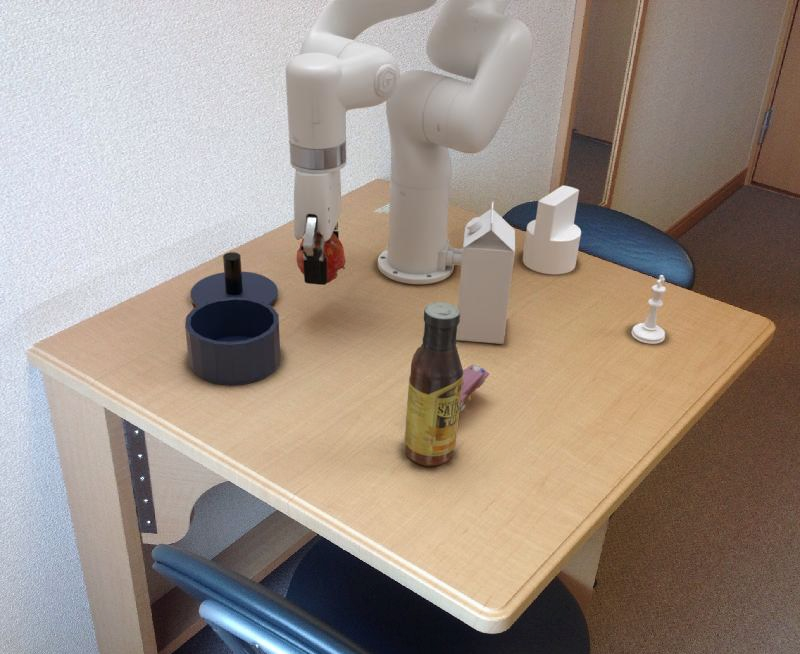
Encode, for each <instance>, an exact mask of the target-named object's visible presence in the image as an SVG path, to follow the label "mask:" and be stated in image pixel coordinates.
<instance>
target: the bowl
mask: <svg viewBox="0 0 800 654" xmlns="http://www.w3.org/2000/svg"><path fill="white" fill-rule="evenodd" d="M184 328H185V329H184V330H185V337H186V347H187V356H188V363H189V366H190V369H191V371H192V372H193V374H195V376H197V377H198V378H200V379H201V380H203V381H206V382H208V383H211V384H215V385H220V386H241V385H242V386H243V385H248V384H253V383H255V382H259V381H261V380H264V379H266V378H268V377H269V376H271V375H272V374H273V373H274V372H275V371H276V370H277V369H278V367H279V366H280V363H281V341H280V339H281V337H280V314H278V311H277V310H276V309H275V308H274V307H273V306H272V305H268V304H266V303H265V302H262V301H259V300H255V299H251V298H242V297H229V298H220V299H215V300H212V301H208V302H205V303H203V304H201V305H199V306H198V307H197V306H195V307H194V308H193V309H192V310H191V311H190V312H189V313H188V314H187V316H186V317H185V322H184Z"/></svg>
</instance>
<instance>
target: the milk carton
mask: <svg viewBox="0 0 800 654" xmlns="http://www.w3.org/2000/svg"><path fill="white" fill-rule="evenodd" d="M494 204H495V202H494V201H492V202H491V208H490V209H489V210H487V211H486V212H484V213H483V214H481V215H480V216H476V217H473V218H472V219H470V220H469V222H467V224H466V225H465V227H464V235H463V236H464V237H463V244H462V249H463V254H462V265H460V277H459V289H458V301H457V308H458V309H459V310H460V322H459V324H458V325H457V334H456V341H463V342H476V343H484V344H485V343H487V344H499V345H503V344H504V343H505V336H506V329H507V328H506V327H507V319H508V311H509V304H510V295H511V288H512V278H513V270H514V261H515V254H516V229H515V228H513V226H511V225H510V224H509V223H508V222H507V221H506V220H505V219H504V218H503V217H502V216H501V215H500V214H499V213H498V212H497V211H496V210H495V209H494Z"/></svg>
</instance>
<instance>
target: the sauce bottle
mask: <svg viewBox="0 0 800 654" xmlns="http://www.w3.org/2000/svg"><path fill="white" fill-rule="evenodd" d="M423 322H424V328H423V336H422V343H421V345H420V346H419V347H417V349H416V350H415V352H414V354H413V356H412V359H411V362H410V363H411V364H410V375H409V379H408V388H407V389H408V390H407V403H406V404H407V405H406V415H405V431H404V443H405V452H406V455H407V457H408V458H409V459H410V460H411V461H412V462H415V463H416V464H419V465H421V466H425V467H426V466H427V467H430V466H431V467H433V466H439V465H442V464H445V463H447V462H448V461H449V460H450V459H451V458H452V457H453V453H454V449H455V447H456V444H457V435H458V426H459V418H460V417H459V416H460V412H459V410H460V400H461V391H462V383H463V370H464V368H463V366H462V361H461V358H460V354H459V351H458V347H457V344H458V342H457V341H458V340H456V334H457V325H458V324H459V322H460V310H459V309H458V306H456V305H455V304H453V303H450V302H443V301H437V302H436V301H435V302H431V303H429V304H427V305H426V306H425V307H424V309H423Z"/></svg>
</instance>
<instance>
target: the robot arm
mask: <svg viewBox="0 0 800 654" xmlns="http://www.w3.org/2000/svg"><path fill="white" fill-rule="evenodd" d="M510 1H511V0H445V1H444V4H443V5H442V7H441V10H440V12H439V13H438V15H437V18H436V20H435V22H434V23H433V26H432V27H431V29H430V31H429V35H428V38H427V41H426V45H425V53H426V56H427V59H428V60H429V62H430V63H431V64H432V65H433V66H434V67H435V68H437V69H439V70H442V71H444V72H446V73H449V74H453V75H456V76H459V77H462V78H466V79H470V80H473V81H472V83H471V82H468V81H464V80H461V79H456V78H454V77H451V76H447V75H444V74H440V73H436V72H433V71H431V70H430V71H429V70H424V69H411V70H407V71H403V72H402V73H401V70H400V66H399V64H398V62H397V60H396V58H395V57H394V55H392V53H390V52H389V51H387V50H385V49H383V48H382V47H378V46H375V45H372V44H367V43H365V42H361V41H358V40H356V38H357V37H359V35H361V34H362V33H363V32H365V31H366V30H368V29H369V28H370V27H373V26H374V25H377V24H379V23H382V22H384V21H387V20H391V19H395V18H400V17H404V16H409V15H412V14H413V15H414V14H415V13H419V12H422V11H425V10H428V9H430V8H431V7H433V6H435V4H436V3H437V2H438V0H329V1H328V2H327V3H326V4H325V5H324V7H323V8H322V9H321V10H320V12H319V14H318V16H317V17H316V18H315V20H314V22H313V23H312V25H311V27H310V29H309V30H308V32H307V34H306V36H305V38H304V40H303V42H302V44H301V47H300V50H299V53H298V54H297V55H294V56H293V57H292V58H290V59H289V61H288V62H287V64H286V67H285V88H286V105H287V106H286V107H287V125H288V126H287V127H288V144H289V145H288V146H289V161H290V166H291V167H292V168H293V169H294V170H295V171H294V172H295V173H294V184H293V185H294V187H293V189H294V190H293V235H294V238H295V240H299V241H300V240H302V239H303V238H304V242H303V249H304V251H303V261H304V274H303V279H304V280H303V281H304V283H305V284H310V285H321V286H326V285H327V284H328V283H327V258H324V256H325V243H326V241H327V240H329V239H330V237H331V235H332V233H334V234H335V235H336V236H337V238H338V239H339V240H340V235H339V234H340V233H339V232H340V231H339V230H338V229H339V220H340V216H341V212H342V211H341V210H342V181H341V179H342V178H341V170H342V169H343V168H345V167H346V165H347V112H348V111H351V110H356V109H357V110H358V109H365V108H372V107H377V106H379V105H381V104H384V103H385V114H386V121H387V128H388V132H389V141H390V143H389V144H390V173H389V174H390V178H389V204H388V228H387V229H388V232H387V249H385V250H383V251H382V252H381V253H380V254H379V256H378V258H377V268H378V270H379V271H380V273H381V274H382V275H383V276H385V277H387V278H388V279H390V280H392V281H395V282H399V283H402V284H410V285H429V284H430V285H431V284H434V283H435V284H436V283H440V282H442V281H444V280H445V279H448V278H449V277H451V275H452V274H453V272H454V267H455V265H456V266H461V265H462V254H463V248H460V247H459V248H455V247H453V246H452V245H450V237H448V223H449V211H450V198H451V186H452V175H453V165H452V157H451V154H450V150H449V149H451V150H454V151H457V152H460V153H464V154H478V153H480V152H482V151H483V150H485V149H486V148H487V147H488V146H489V145H490V144H491V142H492V141H493V139H494V138H495V136H496V134H497V132H498V131H499V129H500V127H501V125H502V123H503V121H504V119H505V117H506V115H507V113H508V111H509V110H510V107H511V105H512V104H513V101H514V99H515V98H516V97H517V93H518V92H519V90H520V88H521V86H522V84H523V82H524V80H525V78H526V75H527V73H528V71H529V67H530V65H531V62H532V56H533V50H534V49H533V46H534V45H533V44H534V43H533V36H532V32H531V30H530V29H529V27H528V26H527V25H526V24H525V23H524V22H523V21H521V20H520V19H517V18H515V17H513V16H509V15H504V14H505V12H506V9H507V7H508V5H509V3H510ZM316 233H320V234H321V235H322V238H318V237H315V236H316ZM315 242H320V251H319V250H318V248H315Z"/></svg>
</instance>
